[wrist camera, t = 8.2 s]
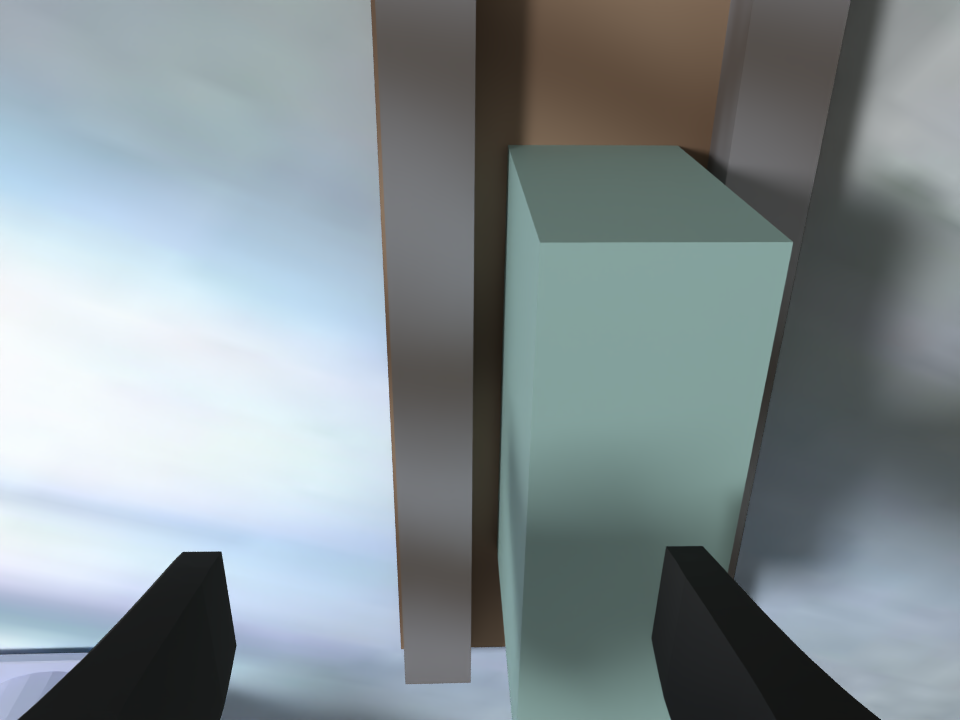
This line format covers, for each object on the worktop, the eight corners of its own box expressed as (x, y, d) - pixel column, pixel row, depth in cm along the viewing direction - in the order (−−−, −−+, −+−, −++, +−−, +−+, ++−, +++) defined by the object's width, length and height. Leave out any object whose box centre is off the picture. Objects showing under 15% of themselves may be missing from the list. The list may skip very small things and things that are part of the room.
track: (703, 632, 27) (720, 676, 25) (401, 639, 26) (398, 684, 25) (829, -41, 18) (868, -40, 16) (369, -46, 17) (362, -46, 16)
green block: (628, 545, 24) (692, 751, 18) (496, 548, 24) (515, 756, 18) (677, 145, 19) (793, 242, 13) (507, 144, 19) (540, 242, 12)
